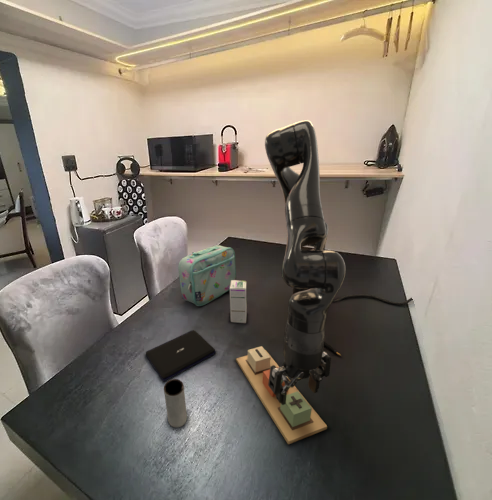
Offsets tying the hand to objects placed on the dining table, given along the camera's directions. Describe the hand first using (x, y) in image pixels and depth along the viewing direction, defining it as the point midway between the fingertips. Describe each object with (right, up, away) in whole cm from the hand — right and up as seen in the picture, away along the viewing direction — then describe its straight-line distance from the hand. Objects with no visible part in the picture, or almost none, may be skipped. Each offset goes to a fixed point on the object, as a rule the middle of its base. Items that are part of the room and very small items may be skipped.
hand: (297, 395), depth 61 cm
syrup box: (-7, +8, +37) cm, 38 cm away
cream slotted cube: (-5, +1, +14) cm, 15 cm away
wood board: (-3, -3, +8) cm, 9 cm away
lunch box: (-16, +14, +53) cm, 57 cm away
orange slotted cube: (-3, -2, +7) cm, 8 cm away
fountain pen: (+17, +4, +23) cm, 28 cm away
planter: (-28, -7, +2) cm, 29 cm away
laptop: (-28, +1, +22) cm, 35 cm away
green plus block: (-1, -5, 0) cm, 5 cm away
